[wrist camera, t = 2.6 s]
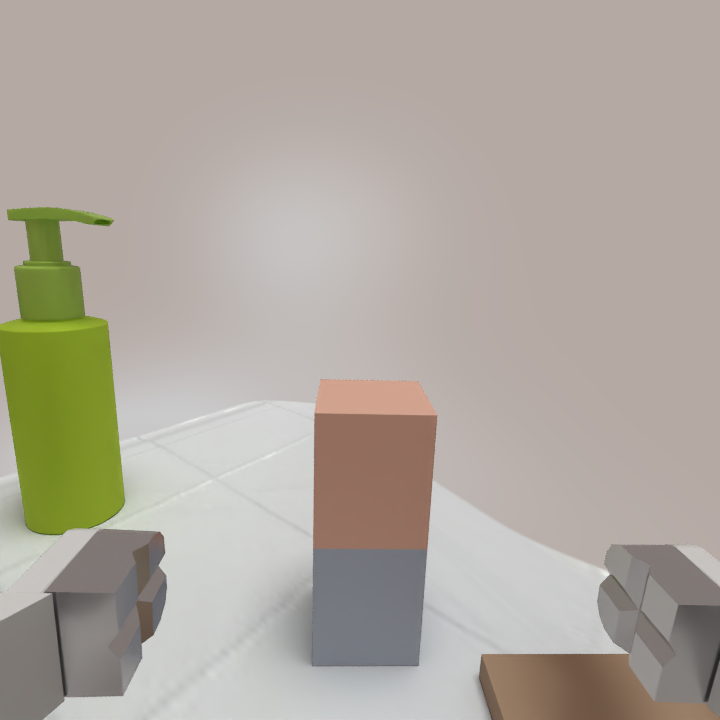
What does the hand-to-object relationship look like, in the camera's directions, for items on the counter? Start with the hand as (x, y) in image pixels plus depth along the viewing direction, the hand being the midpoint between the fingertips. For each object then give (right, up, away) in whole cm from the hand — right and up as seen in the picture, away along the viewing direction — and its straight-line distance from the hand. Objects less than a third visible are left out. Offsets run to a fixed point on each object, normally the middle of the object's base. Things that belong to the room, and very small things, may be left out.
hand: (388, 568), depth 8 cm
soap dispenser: (-20, -7, +24) cm, 31 cm away
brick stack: (0, -9, +15) cm, 17 cm away
